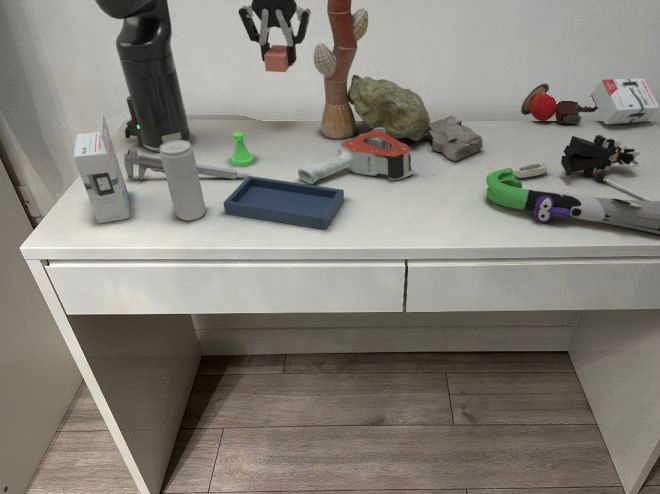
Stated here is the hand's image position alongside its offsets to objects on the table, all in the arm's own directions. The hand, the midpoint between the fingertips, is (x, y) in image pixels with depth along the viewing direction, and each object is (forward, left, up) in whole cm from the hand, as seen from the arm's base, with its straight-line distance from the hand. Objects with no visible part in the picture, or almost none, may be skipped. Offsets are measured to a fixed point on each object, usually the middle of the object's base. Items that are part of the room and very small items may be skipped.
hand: (279, 63), depth 110 cm
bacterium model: (+52, -11, -12) cm, 55 cm away
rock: (+28, +7, -6) cm, 30 cm away
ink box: (+65, +22, -8) cm, 69 cm away
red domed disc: (+50, +22, -9) cm, 56 cm away
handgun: (+68, +21, -12) cm, 73 cm away
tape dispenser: (+21, -14, -13) cm, 28 cm away
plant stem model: (+13, +1, -13) cm, 18 cm away
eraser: (0, 0, 0) cm, 0 cm away
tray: (+13, -31, -13) cm, 36 cm away
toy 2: (+61, -13, -9) cm, 63 cm away
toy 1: (+75, -19, -10) cm, 78 cm away
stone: (+36, +1, -13) cm, 39 cm away
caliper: (-8, -27, -13) cm, 31 cm away
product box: (-14, -39, -13) cm, 44 cm away
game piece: (-2, -17, -13) cm, 22 cm away
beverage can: (-1, -37, -13) cm, 40 cm away
